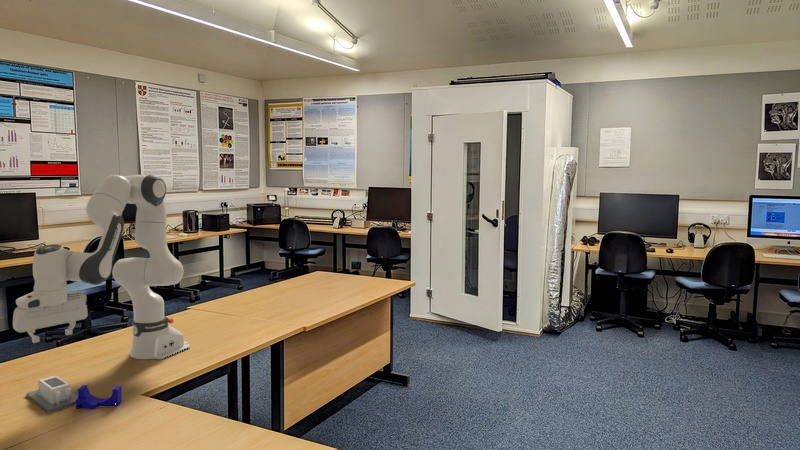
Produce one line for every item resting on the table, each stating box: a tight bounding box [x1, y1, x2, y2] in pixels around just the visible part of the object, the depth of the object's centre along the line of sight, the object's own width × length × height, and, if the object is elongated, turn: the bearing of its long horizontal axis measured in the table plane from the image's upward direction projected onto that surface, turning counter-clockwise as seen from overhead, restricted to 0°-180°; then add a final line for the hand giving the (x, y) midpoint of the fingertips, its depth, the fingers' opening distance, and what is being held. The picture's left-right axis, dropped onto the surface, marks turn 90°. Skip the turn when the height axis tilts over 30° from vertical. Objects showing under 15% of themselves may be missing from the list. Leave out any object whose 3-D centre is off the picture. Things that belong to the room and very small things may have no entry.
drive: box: [38, 375, 71, 403], centre depth 170 cm, size 5×10×5 cm, turn 54°
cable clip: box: [75, 384, 123, 410], centre depth 168 cm, size 12×4×6 cm, turn 95°
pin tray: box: [25, 375, 78, 414], centre depth 170 cm, size 10×17×5 cm, turn 54°
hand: (52, 338), depth 168 cm, fingers open, 8 cm apart
